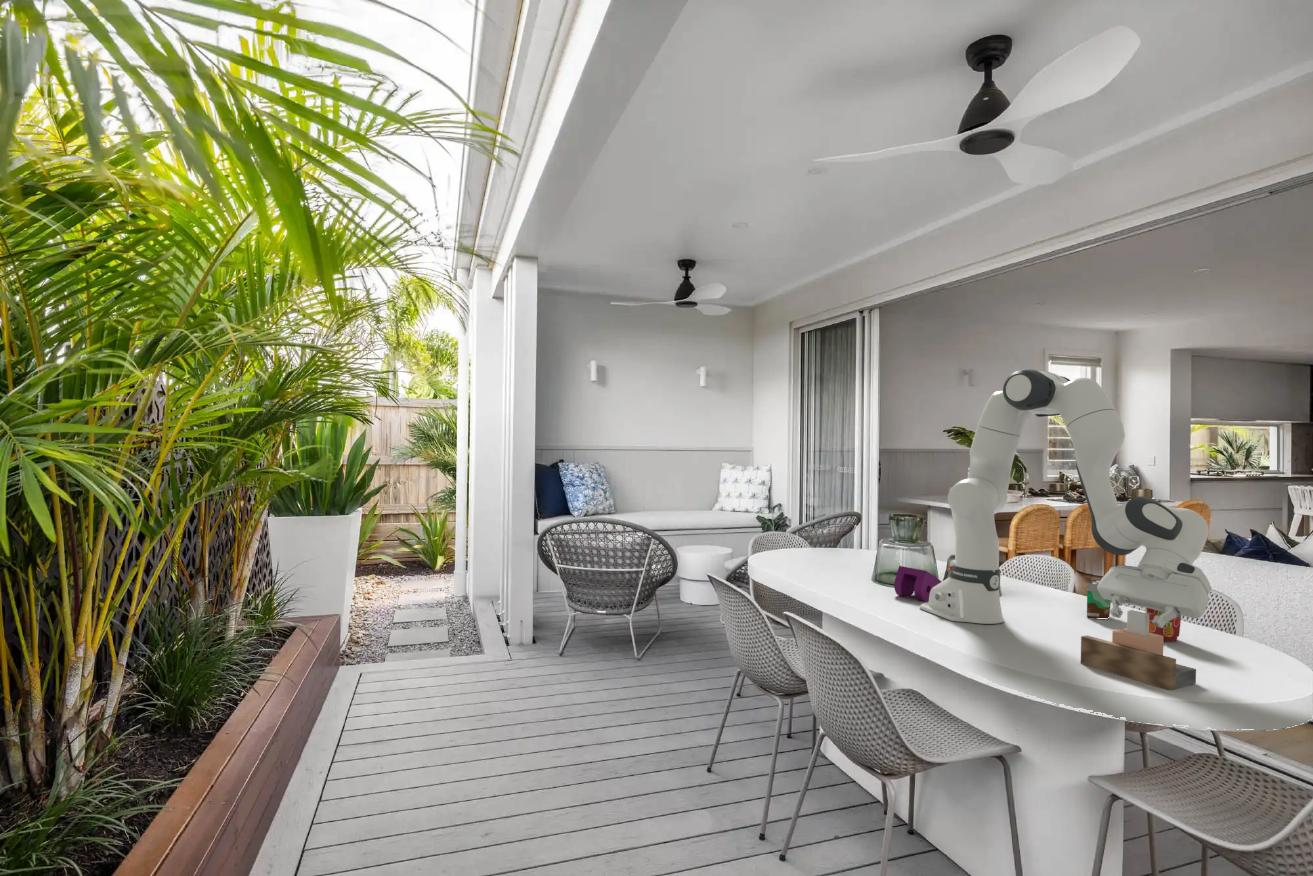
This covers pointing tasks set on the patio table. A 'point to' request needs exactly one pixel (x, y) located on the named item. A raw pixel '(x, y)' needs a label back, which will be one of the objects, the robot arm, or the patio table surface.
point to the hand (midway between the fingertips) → (1135, 620)
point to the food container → (1096, 601)
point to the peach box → (1138, 634)
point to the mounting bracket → (914, 583)
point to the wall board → (1135, 663)
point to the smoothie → (1169, 629)
